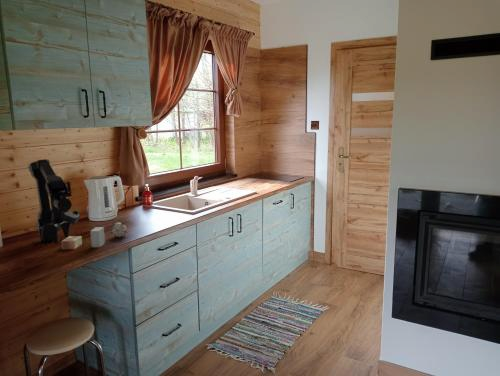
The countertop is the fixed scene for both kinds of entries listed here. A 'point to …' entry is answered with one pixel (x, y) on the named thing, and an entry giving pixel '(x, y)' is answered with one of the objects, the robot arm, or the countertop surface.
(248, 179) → the countertop surface
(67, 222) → the robot arm
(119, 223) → the grey knobbly lump
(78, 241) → the birch block
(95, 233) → the grey block
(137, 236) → the countertop surface
